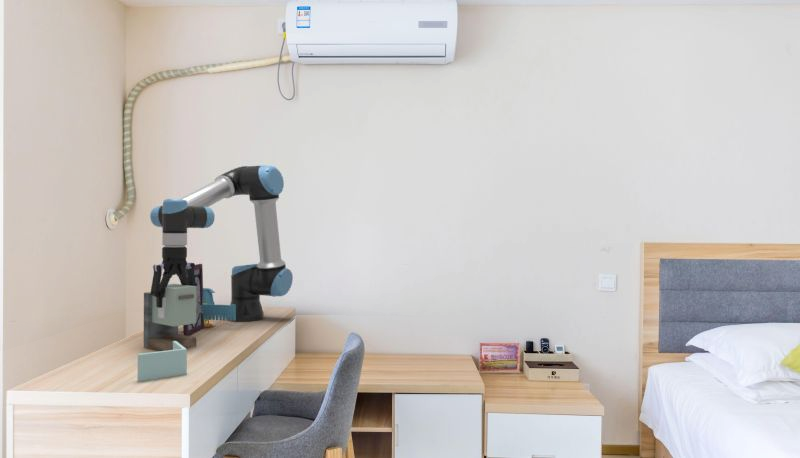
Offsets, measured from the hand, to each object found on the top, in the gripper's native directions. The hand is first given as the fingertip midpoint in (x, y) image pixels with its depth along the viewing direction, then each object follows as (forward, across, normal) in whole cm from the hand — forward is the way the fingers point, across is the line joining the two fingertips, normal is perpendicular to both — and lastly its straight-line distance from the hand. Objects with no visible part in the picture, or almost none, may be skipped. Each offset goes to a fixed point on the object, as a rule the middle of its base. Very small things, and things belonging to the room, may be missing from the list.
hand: (174, 315), depth 181 cm
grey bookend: (+11, 0, -1) cm, 11 cm away
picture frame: (+11, -17, -20) cm, 28 cm away
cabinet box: (+2, 0, 0) cm, 2 cm away
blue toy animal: (+11, -28, -22) cm, 37 cm away
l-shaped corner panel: (+11, +20, +23) cm, 33 cm away
